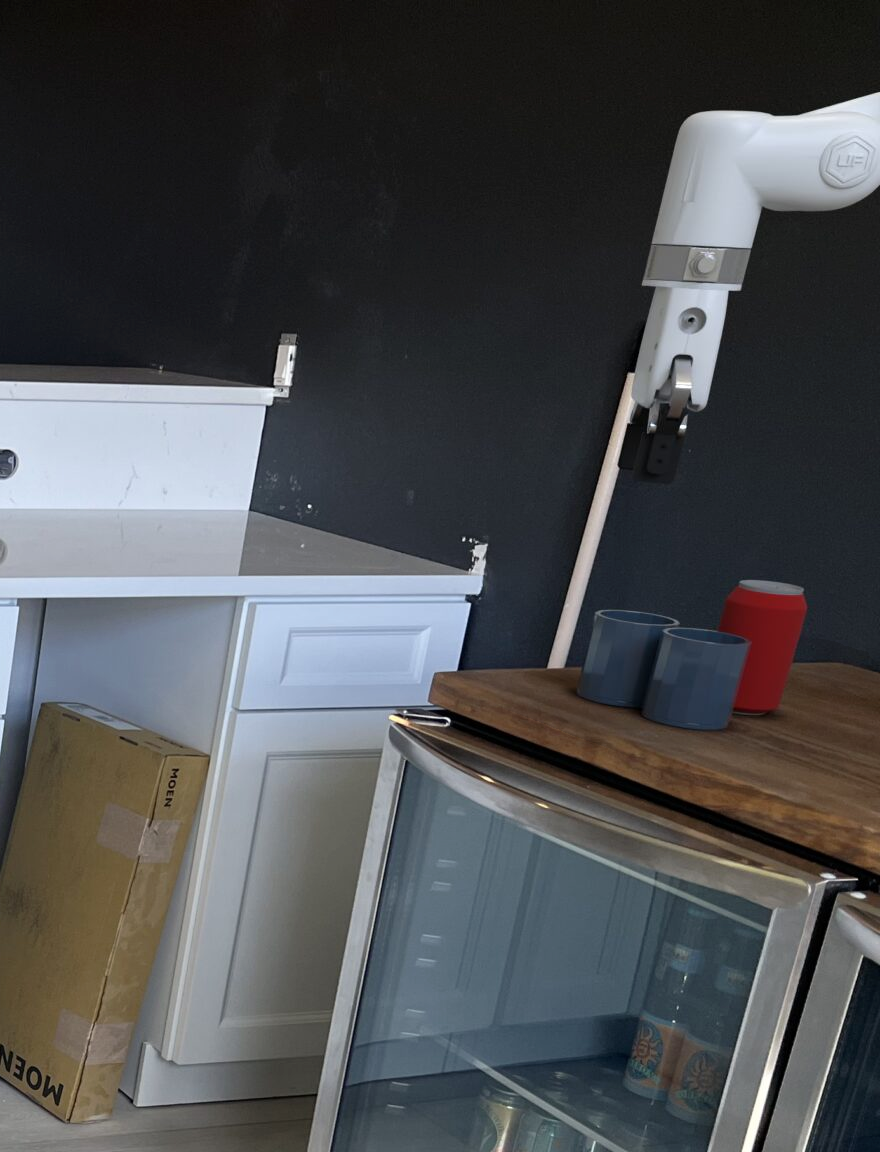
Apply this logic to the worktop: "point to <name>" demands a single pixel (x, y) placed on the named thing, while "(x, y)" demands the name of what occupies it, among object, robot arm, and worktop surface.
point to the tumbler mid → (695, 678)
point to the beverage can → (764, 639)
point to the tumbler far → (621, 656)
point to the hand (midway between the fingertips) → (643, 475)
